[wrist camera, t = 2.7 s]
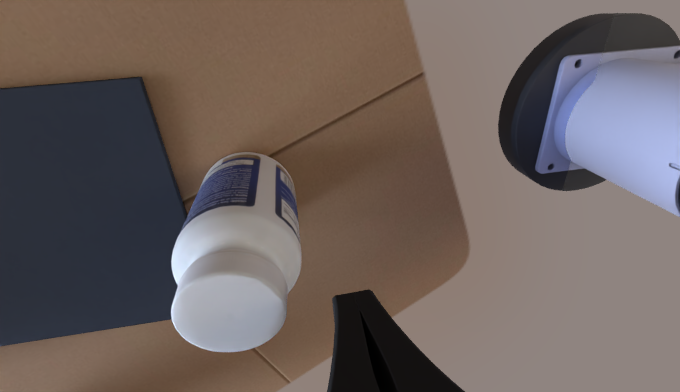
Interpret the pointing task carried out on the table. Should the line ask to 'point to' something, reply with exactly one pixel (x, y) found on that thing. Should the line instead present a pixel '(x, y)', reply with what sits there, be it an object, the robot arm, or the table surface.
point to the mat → (84, 210)
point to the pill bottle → (237, 255)
